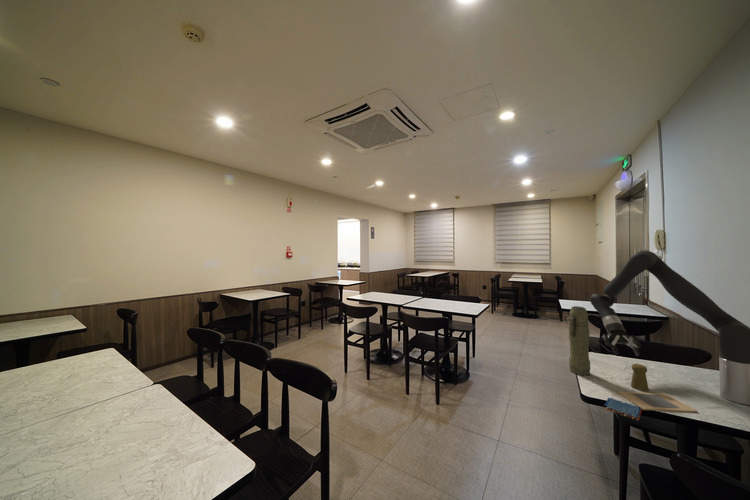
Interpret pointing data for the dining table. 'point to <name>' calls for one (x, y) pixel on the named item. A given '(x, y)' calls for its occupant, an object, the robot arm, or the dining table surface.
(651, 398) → the tan flat board
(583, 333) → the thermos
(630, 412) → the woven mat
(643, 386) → the cork
